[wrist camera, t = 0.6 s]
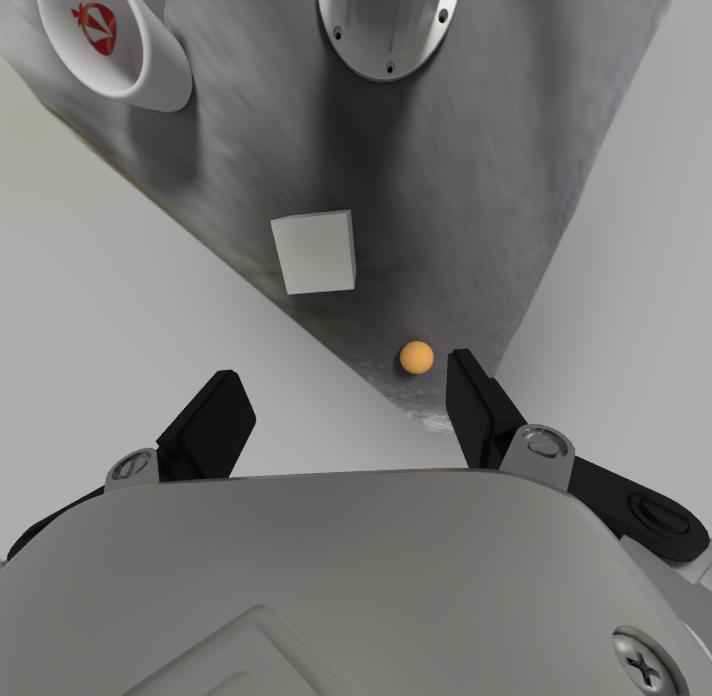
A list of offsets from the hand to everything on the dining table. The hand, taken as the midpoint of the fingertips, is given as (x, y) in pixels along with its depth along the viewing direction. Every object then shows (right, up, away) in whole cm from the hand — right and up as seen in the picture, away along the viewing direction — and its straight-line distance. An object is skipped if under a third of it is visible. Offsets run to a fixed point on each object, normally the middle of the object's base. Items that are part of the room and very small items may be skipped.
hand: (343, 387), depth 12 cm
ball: (+10, 0, +28) cm, 30 cm away
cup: (-18, +31, +15) cm, 39 cm away
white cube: (-4, +15, +23) cm, 28 cm away
